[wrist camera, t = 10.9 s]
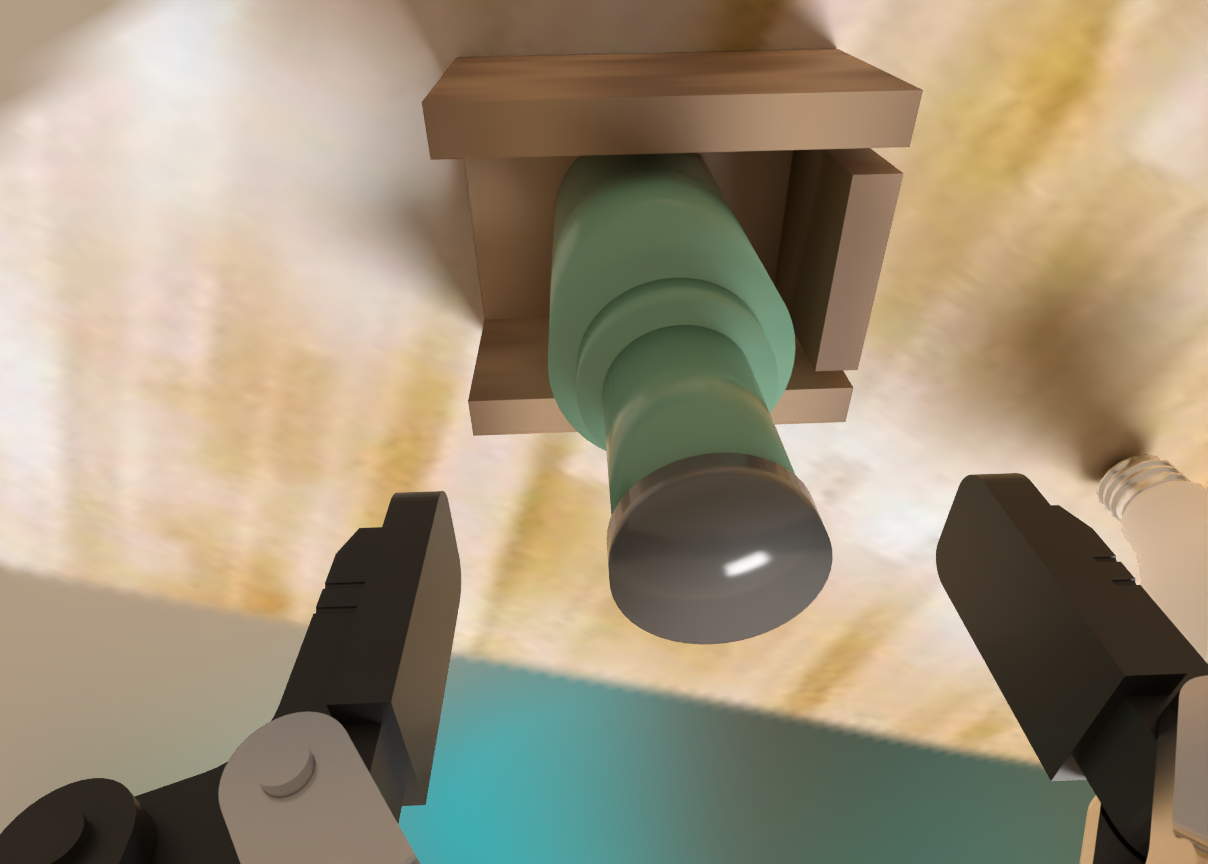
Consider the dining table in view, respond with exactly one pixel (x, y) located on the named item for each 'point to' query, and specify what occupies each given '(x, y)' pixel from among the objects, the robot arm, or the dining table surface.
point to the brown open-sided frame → (734, 158)
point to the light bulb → (1165, 537)
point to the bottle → (681, 398)
